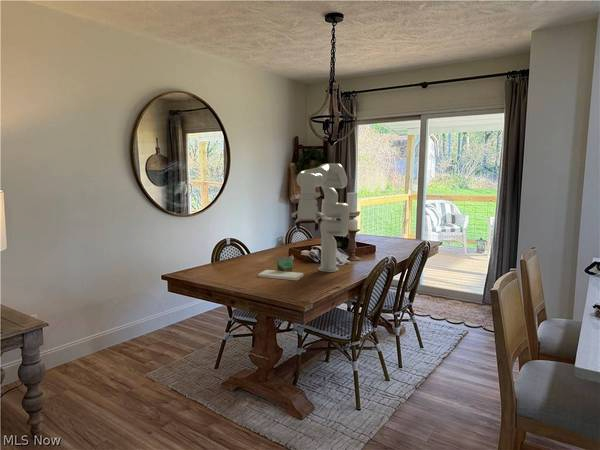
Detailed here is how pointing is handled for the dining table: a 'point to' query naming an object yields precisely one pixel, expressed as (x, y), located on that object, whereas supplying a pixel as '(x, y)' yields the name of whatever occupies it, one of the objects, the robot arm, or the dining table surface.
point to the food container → (285, 263)
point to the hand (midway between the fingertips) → (307, 230)
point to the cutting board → (281, 275)
